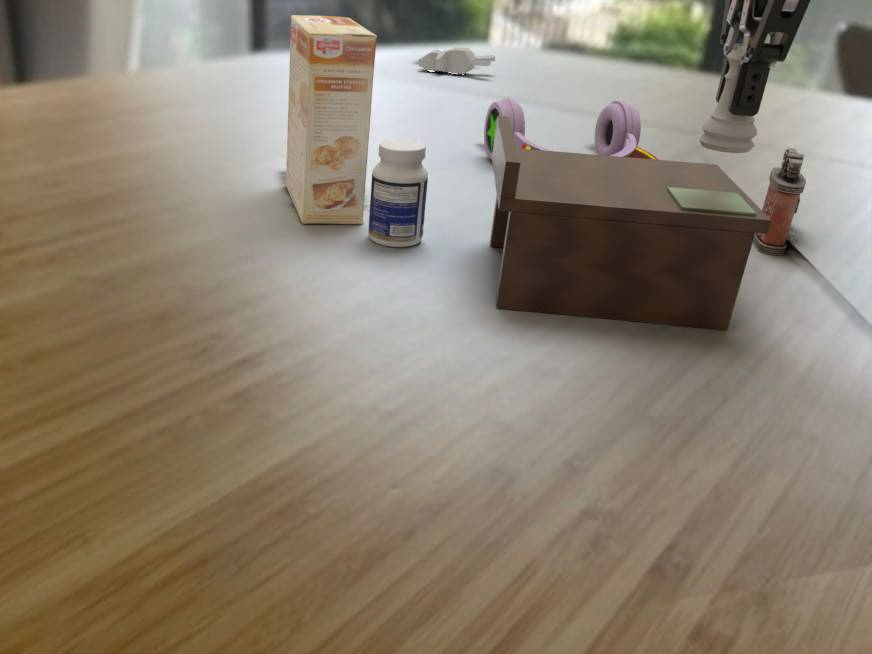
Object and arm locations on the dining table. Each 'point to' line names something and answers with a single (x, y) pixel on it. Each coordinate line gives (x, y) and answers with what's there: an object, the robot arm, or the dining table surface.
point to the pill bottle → (398, 194)
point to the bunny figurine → (454, 60)
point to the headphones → (612, 129)
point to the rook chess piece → (729, 118)
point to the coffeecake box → (329, 117)
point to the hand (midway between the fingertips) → (735, 108)
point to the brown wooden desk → (619, 235)
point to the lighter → (781, 203)
